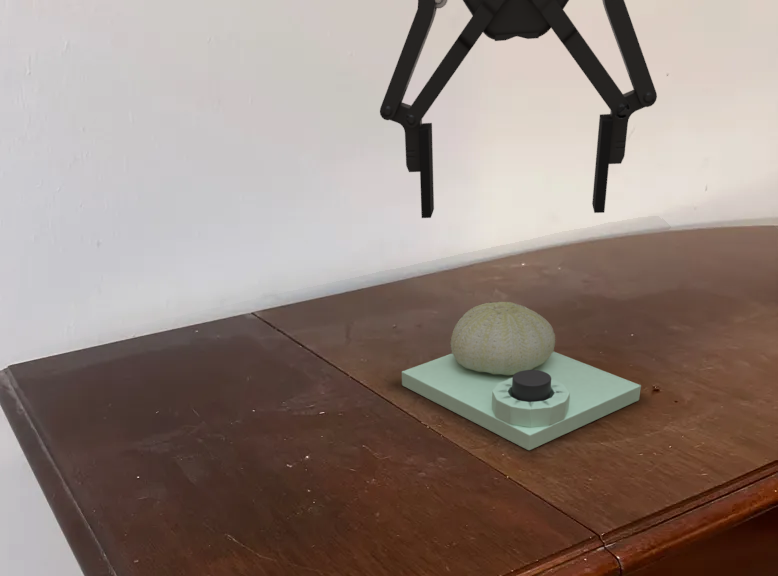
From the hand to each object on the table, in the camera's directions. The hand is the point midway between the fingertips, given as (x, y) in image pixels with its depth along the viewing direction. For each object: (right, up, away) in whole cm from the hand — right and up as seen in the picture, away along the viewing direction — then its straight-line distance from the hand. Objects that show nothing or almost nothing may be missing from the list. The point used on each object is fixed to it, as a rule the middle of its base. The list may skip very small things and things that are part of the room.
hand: (511, 211), depth 66 cm
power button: (+1, -15, -1) cm, 15 cm away
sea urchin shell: (0, -11, +8) cm, 13 cm away
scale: (+1, -14, +5) cm, 15 cm away
